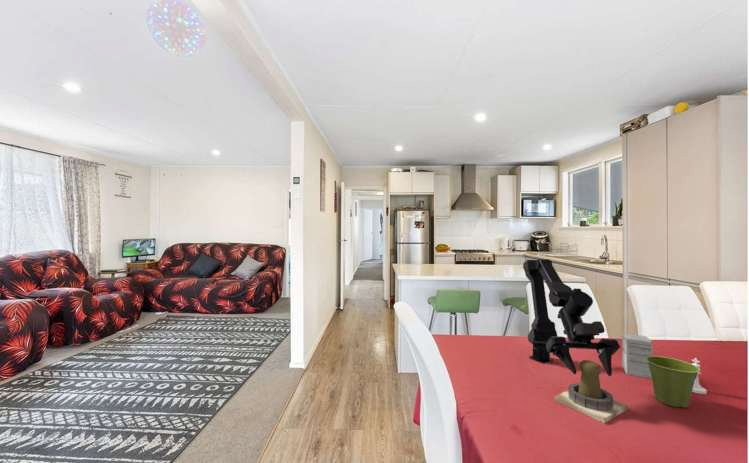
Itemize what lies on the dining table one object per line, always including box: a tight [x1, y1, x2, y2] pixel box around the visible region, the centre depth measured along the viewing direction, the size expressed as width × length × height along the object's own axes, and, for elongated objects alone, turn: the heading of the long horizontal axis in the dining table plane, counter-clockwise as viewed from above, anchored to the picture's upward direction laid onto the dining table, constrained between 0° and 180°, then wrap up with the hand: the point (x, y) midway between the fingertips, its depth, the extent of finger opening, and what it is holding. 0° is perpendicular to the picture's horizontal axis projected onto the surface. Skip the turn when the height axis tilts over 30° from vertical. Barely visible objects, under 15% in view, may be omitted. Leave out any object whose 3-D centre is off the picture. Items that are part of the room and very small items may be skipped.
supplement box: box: [621, 332, 654, 380], centre depth 113 cm, size 7×7×13 cm
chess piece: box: [691, 357, 708, 395], centre depth 101 cm, size 5×5×10 cm
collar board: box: [553, 382, 628, 424], centre depth 91 cm, size 13×13×4 cm
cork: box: [578, 359, 602, 399], centre depth 92 cm, size 6×6×11 cm
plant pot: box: [645, 355, 702, 409], centre depth 94 cm, size 12×12×11 cm
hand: (592, 374), depth 90 cm, fingers open, 9 cm apart
